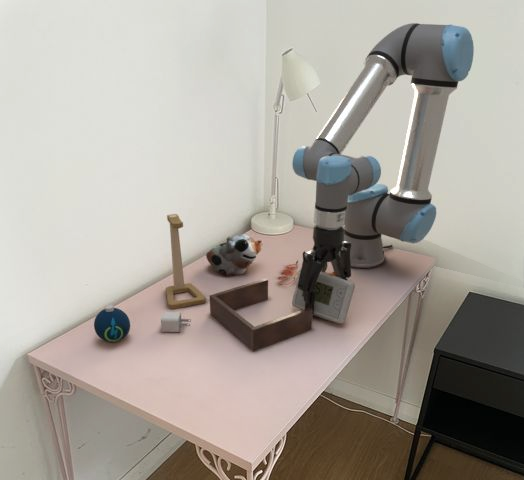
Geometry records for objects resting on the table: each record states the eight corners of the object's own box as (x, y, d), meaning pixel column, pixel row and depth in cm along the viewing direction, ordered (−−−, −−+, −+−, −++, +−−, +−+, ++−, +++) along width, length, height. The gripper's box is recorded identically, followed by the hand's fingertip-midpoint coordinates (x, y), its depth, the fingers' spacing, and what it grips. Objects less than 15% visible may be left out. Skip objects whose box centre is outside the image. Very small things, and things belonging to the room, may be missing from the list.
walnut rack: (265, 297, 150) (265, 278, 147) (311, 329, 136) (312, 309, 133) (210, 315, 142) (209, 295, 139) (253, 351, 128) (253, 330, 125)
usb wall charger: (165, 324, 138) (163, 310, 136) (192, 325, 138) (191, 311, 136) (162, 332, 135) (160, 319, 133) (189, 333, 135) (188, 319, 132)
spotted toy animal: (237, 254, 174) (257, 221, 165) (254, 281, 169) (275, 248, 160) (198, 253, 164) (217, 217, 155) (215, 281, 159) (235, 246, 150)
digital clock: (288, 306, 144) (289, 270, 138) (311, 296, 149) (313, 260, 143) (333, 330, 134) (337, 292, 128) (356, 318, 139) (361, 281, 133)
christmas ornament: (92, 348, 129) (84, 312, 123) (103, 329, 136) (96, 294, 130) (126, 350, 128) (121, 313, 123) (136, 331, 135) (131, 296, 130)
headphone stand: (169, 309, 144) (161, 231, 132) (160, 291, 153) (152, 216, 140) (207, 303, 147) (202, 226, 135) (196, 285, 156) (191, 211, 144)
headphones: (277, 294, 157) (345, 286, 152) (273, 277, 155) (342, 269, 149) (286, 269, 171) (349, 262, 165) (283, 254, 168) (347, 246, 163)
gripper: (304, 239, 121) (299, 325, 134) (372, 220, 131) (362, 302, 144) (284, 228, 126) (281, 312, 139) (351, 211, 136) (343, 291, 149)
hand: (322, 307), depth 141 cm, fingers closed on digital clock, 8 cm apart
